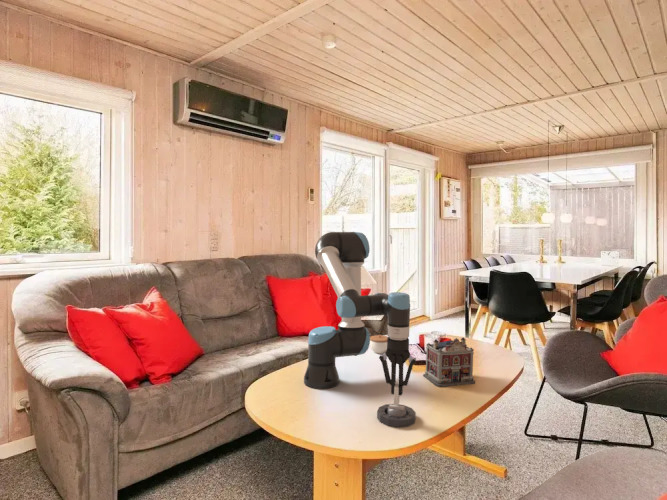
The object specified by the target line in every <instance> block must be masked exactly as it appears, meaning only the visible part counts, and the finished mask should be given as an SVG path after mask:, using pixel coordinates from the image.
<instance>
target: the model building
mask: <svg viewBox="0 0 667 500" xmlns="http://www.w3.org/2000/svg"><path fill="white" fill-rule="evenodd" d="M466 341H467V340H466V338H465V337H461V339H460V340H459V338H456V337H455V338H454V339H453V340H445V341H441V342H439V341H438V339H434V340H433V343H430V342H427V343H426V347H425V348H426V352H425V353H426V354H425V355H426V356H425V371H424V373H423V374H422V376H423V377H424V378H425V379H426V380H428V381H429V382H431V384H433V385H434V386H436V387H438V388H444V387H445V388H446V387H455V386H463V385H473V384H475V385H476V383H477V382H476V381H475V380H474V376H473V372H474V354H475V353H474V350H475V349H473V347H472V346H471V347H469V346H468V344H466Z"/></svg>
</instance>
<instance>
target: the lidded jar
mask: <svg viewBox="0 0 667 500" xmlns="http://www.w3.org/2000/svg"><path fill="white" fill-rule="evenodd" d="M387 338H388V335H381V334H378V335H371V336H370V344H369V347H370V349H371V350H372V352H373V353H374V354H378V355H381V354H385V353H386V350H387Z"/></svg>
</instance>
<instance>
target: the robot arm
mask: <svg viewBox="0 0 667 500" xmlns="http://www.w3.org/2000/svg"><path fill="white" fill-rule="evenodd" d="M369 243H370V242H369V240H368V237H367V235H365V234H364V233H362V232H358V231H329V232H326V233H325V234H323V235H321V236H320V237H319V239H318V240H317V241H316V244H315V247H314V255H315V258H316V260H317V262H318V264H320V265H321V266H322V267H323V270H324V272H325V274H326V275H327V277H328V279H329V282H330V284H331V286H332V289H333V290H334V292H335V294H336V296H337V300H336V302H335V303H336V304H335V307H336V313H337V315H338V317H340V318H341V321H340V322H339V323H338V325H337V327H338V328H337V329H336V327H334V326H330V325H329V326H326V325H325V326H319V327H315V328H313V329H311V330H310V331H309V333H308V341H307V345H308V350H307V351H308V353H307V354H308V357H307V358H308V360H307V362H308V363H307V367H306V369H305V374H304V375H303V384H304V385H305V386H306V387H309V388H312V389H320V390H321V389H330V388H335V387H336V386H338V385H339V384H340V376H339V372H338V369H337V366H336V358H343V357H352V356H353V357H354V356H356V357H357V356H359V355H364V354H366V352H368V349H369V347H370V337H371V336H370V331H369V330H368V328H367V327H365V326H366V324H365V323H364V322H363V321H362V317H363V318H364V317H375V316H376V317H377V316H385V317H387V331H386V332H387V335H386V336H387V337H388V338H387V350H386V352H385V353H383V354H379V357H378V359H379V361H380V362H381V366H382V369H383V375H384V380H385V384H389V385H390V389H391V390H390V394H391V395H393V404H394V405H398V404H400V396H402V395H403V392H404V390H403V388H404V386H408V383H409V380H410V376H411V373H412V370H413V367H414V365H415V364H416V361H417V358H416V357H413V356H412V355H411V352H410V351H409V350H410V338H409V337H410V321H411V320H410V317H411V315H410V314H411V299H410V297H411V296H410V294H409V293H407V292H400V291H399V292H398V291H395V292H390V293H389V294H388V293H385V292H384V293H382V292H377V293H375V294H369V295H366V294H365V295H362V266H363V265H364V264H365V260H366V259H367V258H368V257H369V256H370V255H369V254H370V244H369ZM387 359H388V360H389V361H390V364H391V365H390V366H391V372H390V371H389V370H390V369H389V366H388V361H387ZM407 361H408V367H407V371H406V375H405V376H404V364H405V363H406V362H407ZM397 365H398V383H396V382H397V381H396V380H397V379H396V378H397ZM390 373H391V375H390ZM404 377H405V378H404Z"/></svg>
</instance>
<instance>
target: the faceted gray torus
mask: <svg viewBox="0 0 667 500" xmlns="http://www.w3.org/2000/svg"><path fill="white" fill-rule="evenodd" d="M390 404H391V405H394V403H387V404H386V403H385V404H382V405H380V406H378V409H377V411H376V419H377V420H378V422H379V423H380V422H381V423H380V424H382V423H383V425H385V426H387V427H390V428H391V427H393V428H397V427H398V428H399V429H400V428H408V427H410V426H412V425H415V423H416V414H417V413H416V411H415V410H414V408H412V407H409V406H407V405H405V404H400V403H399V404H398V405H402V406H405V408H406V416H404V417H393V416H389V415H388V406H389V405H390ZM398 428H397V429H398Z"/></svg>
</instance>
